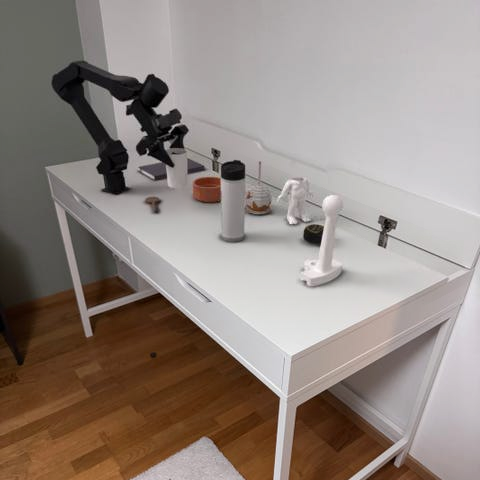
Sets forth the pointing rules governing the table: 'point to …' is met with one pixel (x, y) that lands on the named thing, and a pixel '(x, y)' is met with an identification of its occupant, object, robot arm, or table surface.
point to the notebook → (160, 172)
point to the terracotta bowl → (207, 189)
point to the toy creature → (296, 198)
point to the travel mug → (232, 200)
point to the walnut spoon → (153, 202)
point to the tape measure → (313, 233)
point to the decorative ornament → (258, 198)
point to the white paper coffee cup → (177, 168)
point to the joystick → (325, 248)
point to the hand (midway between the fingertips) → (180, 164)
